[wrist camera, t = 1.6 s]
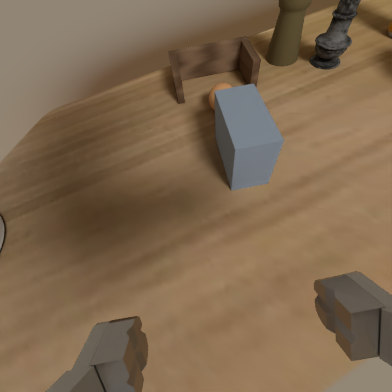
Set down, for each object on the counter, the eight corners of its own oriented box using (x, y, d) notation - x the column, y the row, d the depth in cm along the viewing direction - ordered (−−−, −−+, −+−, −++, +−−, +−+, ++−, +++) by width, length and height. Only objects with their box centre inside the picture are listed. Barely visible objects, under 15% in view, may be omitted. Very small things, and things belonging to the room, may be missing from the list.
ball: (212, 120, 35) (211, 96, 31) (207, 104, 37) (205, 79, 33) (237, 115, 35) (240, 90, 31) (231, 99, 37) (232, 74, 33)
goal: (178, 103, 38) (173, 76, 33) (173, 78, 42) (168, 51, 38) (256, 88, 38) (260, 59, 33) (243, 64, 42) (246, 36, 38)
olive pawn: (262, 63, 42) (274, -11, 32) (270, 48, 44) (284, -25, 35) (293, 68, 40) (316, -10, 30) (300, 51, 42) (323, -25, 33)
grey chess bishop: (302, 63, 40) (330, -24, 30) (318, 50, 42) (351, -37, 32) (331, 73, 38) (373, -18, 28) (347, 59, 40) (393, -32, 29)
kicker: (231, 190, 28) (235, 149, 21) (215, 138, 33) (214, 90, 26) (267, 183, 28) (284, 140, 21) (246, 132, 33) (253, 83, 26)
